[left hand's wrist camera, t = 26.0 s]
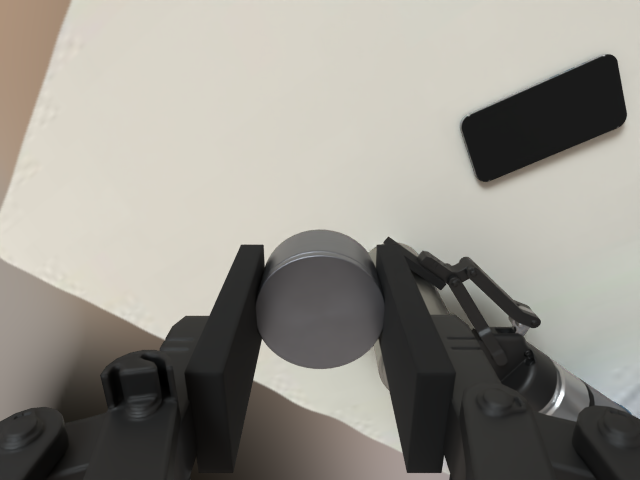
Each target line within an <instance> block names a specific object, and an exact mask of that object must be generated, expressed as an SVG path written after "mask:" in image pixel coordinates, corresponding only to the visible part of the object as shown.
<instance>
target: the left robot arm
mask: <svg viewBox="0 0 640 480" xmlns="http://www.w3.org/2000/svg"><path fill="white" fill-rule="evenodd" d="M264 269H265V264H264V245H241V246H240V248H239V251H238V253H237V255H236V257H235V260H234V262H233V264H232V266H231V269H230V271H229V273H228V275H227V278H226V280H225V282H224V284H223V287H222V289H221V291H220V293H219V296H218V298H217V300H216V302H215V305H214V307H213V309H212V311H211V314H210V316H185V317H184V318H183V319H181V320H180V321H179V322H177V323H176V324H175V325H174V326H172V328H171V330H170V331H169V333H168V335H167V337H166V340H165V341H164V342H163V344H162V346H161V347H160V351H157V350H141V351H137V352H132V353H129V354H126V355H124V356H122V357H119V358H117V359H116V360H114V361H113V362H112V363H110V364H109V365H108V366H106V368H105V369H104V371H103V372H102V373H101V375H100V376H101V380H102V385H103V389H104V393H105V397H106V401H107V406H108V411H107V412H106V413H103V414H100V415H97V416H94V417H89V418H85V419H81V420H77V421H72V422H68V423H64V420H63V417H62V415H61V414H60V413H59V412H58V411H57V410H56V409H52V408H48V407H40V408H31V409H28V410H24V411H21V412H18V413H15V414H13V415H12V416H10V417H8V418H6V419H4V420H2V421H0V480H191V479H190V474H191V471H192V468H193V465H194V462H195V458H196V457H197V463H198V471H199V473H233V471H234V466H235V461H236V457H237V452H238V448H239V443H240V438H241V434H242V429H243V424H244V420H245V415H246V411H247V406H248V401H249V397H250V392H251V387H252V383H253V378H254V373H255V369H256V364H257V359H258V355H259V350H260V345H261V341H262V337H261V335H260V334H259V331H258V329H257V318H256V298H257V294H258V291H259V287H260V284H261V280H262V276H263V273H264ZM376 271H377V274H378V278H379V282H380V285H381V289H382V292H383V296H384V300H385V307H384V322H383V330H382V332H381V335H380V336H379V338H378V339H379V344H380V349H381V353H382V358H383V363H384V367H385V372H386V377H387V381H388V386H389V391H390V395H391V400H392V405H393V409H394V414H395V419H396V423H397V428H398V433H399V437H400V442H401V447H402V451H403V456H404V461H405V465H406V470H407V473H441V472H442V466H443V459H444V456H445V459H446V462H447V465H448V468H449V471H450V479H449V480H640V419H638V418H636V417H634V416H633V415H631V414H629V413H627V412H625V411H622V410H619V409H616V408H612V407H608V406H598V405H595V406H590V407H585V408H584V409H583V410H582V411H581V412H580V413H579V414H578V418H577V421H576V422H575V421H571V420H567V419H563V418H558V417H554V416H550V415H546V414H543V413H539V412H536V411H534V410H532V408H531V406H530V405H529V403H528V401H527V400H526V399H525V398H524V397H523V396H522V395H520V394H519V393H518V392H517V391H515V390H513V389H511V388H509V387H507V386H505V385H503V384H502V383H501V381H500V380H499V378H498V376H497V375H496V373H495V371H494V369H493V368H492V366H491V364H490V362H489V361H488V359H487V357H486V355H485V354H484V352H483V350H481V347H480V345H479V343H478V341H477V340H475V336H474V335H473V333H472V331H471V329H470V328H469V326H468V325H467V324H466V323H465V322H463V321H462V320H461V319H460V318H458V317H457V316H456V315H430V313H429V311H428V308H427V306H426V304H425V302H424V299H423V297H422V295H421V293H420V290H419V288H418V286H417V284H416V282H415V279H414V277H413V275H412V273H411V270H410V268H409V266H408V264H407V261H406V259H405V257H404V255H403V252H402V250H401V248H400V246H399V245H377V250H376Z"/></svg>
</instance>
